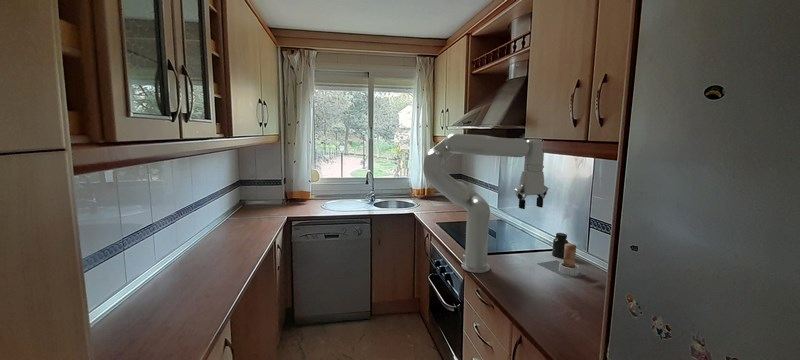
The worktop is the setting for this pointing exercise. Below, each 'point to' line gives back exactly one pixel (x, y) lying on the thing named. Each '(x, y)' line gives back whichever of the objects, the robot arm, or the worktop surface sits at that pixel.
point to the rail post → (569, 255)
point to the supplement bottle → (559, 245)
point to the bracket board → (562, 269)
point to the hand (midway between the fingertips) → (530, 207)
